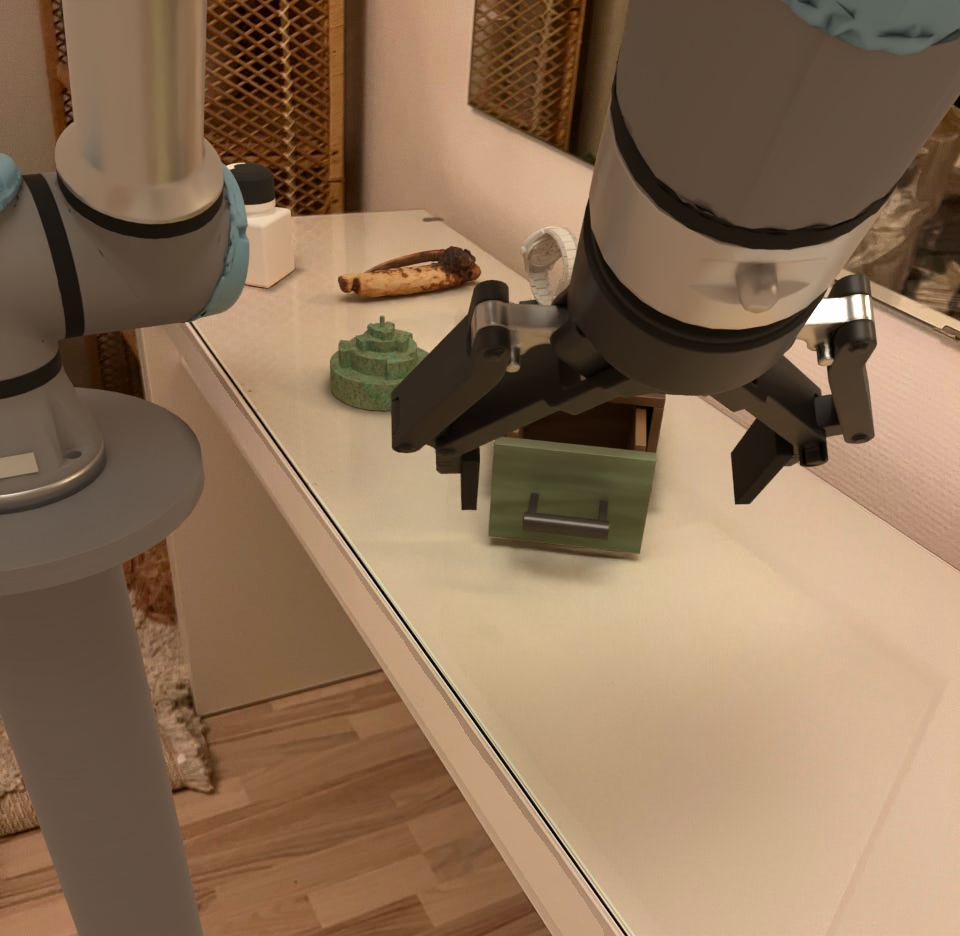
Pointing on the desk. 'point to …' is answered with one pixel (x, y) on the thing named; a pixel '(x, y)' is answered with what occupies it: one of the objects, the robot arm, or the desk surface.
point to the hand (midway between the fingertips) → (604, 481)
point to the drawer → (575, 480)
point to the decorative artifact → (373, 365)
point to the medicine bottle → (264, 226)
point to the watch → (548, 261)
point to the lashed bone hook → (414, 274)
